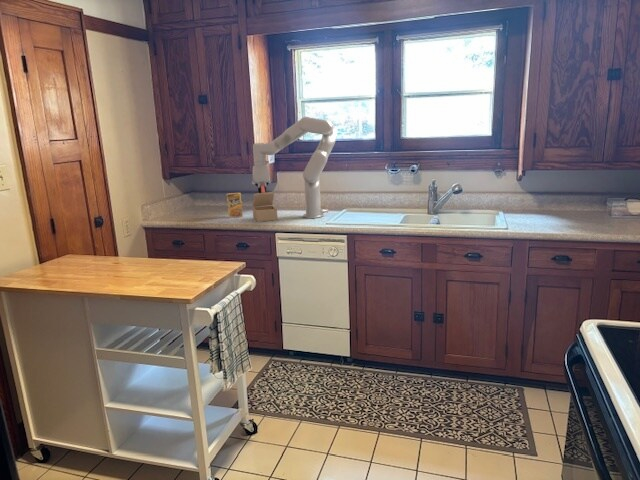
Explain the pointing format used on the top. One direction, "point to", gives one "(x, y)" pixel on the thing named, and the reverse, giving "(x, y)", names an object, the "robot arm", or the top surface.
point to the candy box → (234, 205)
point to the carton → (264, 213)
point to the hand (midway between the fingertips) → (262, 193)
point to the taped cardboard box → (263, 198)
